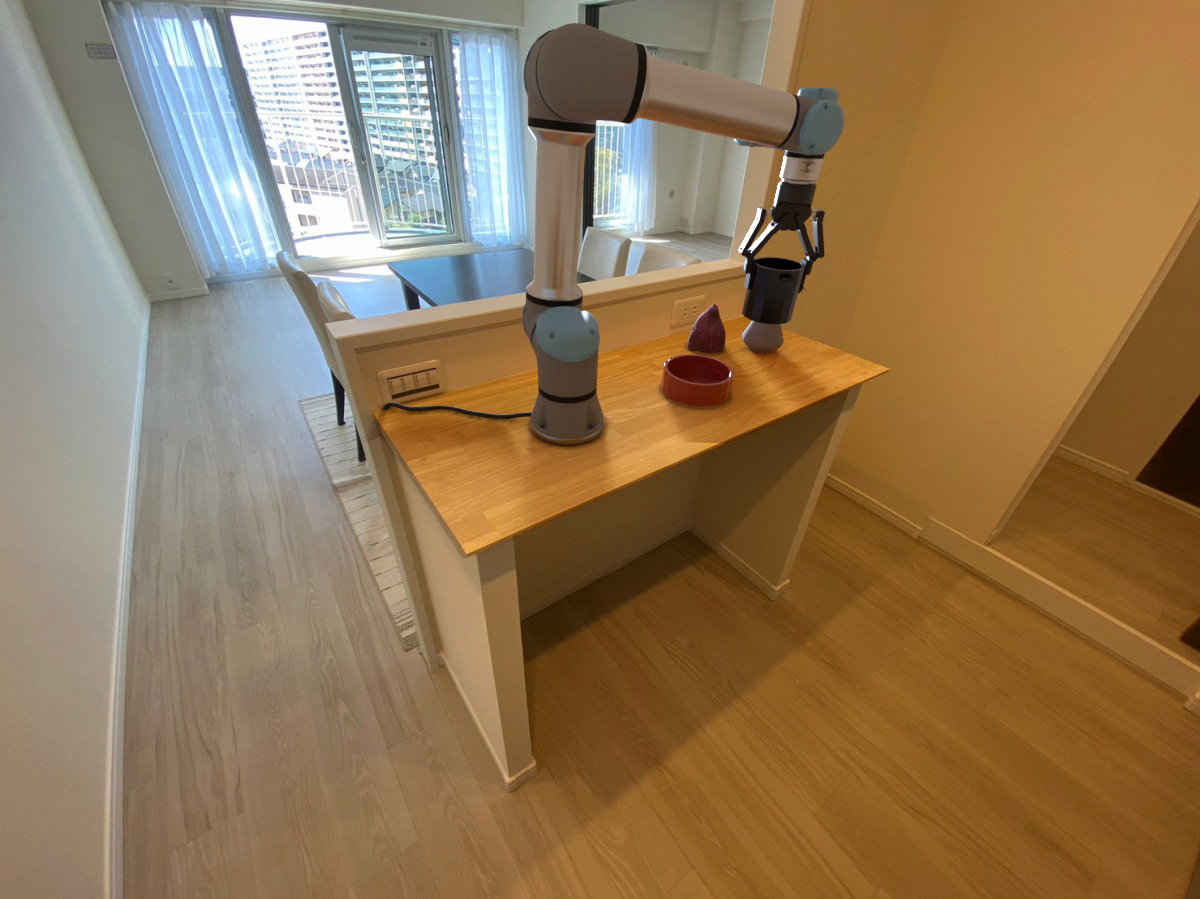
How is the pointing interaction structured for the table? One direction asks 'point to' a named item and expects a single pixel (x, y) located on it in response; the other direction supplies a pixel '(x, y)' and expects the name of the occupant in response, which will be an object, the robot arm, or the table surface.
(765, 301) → the black cylindrical cup
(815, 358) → the table surface
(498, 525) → the table surface
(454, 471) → the table surface
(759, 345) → the coffee pot
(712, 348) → the vegetable
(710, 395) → the casserole
